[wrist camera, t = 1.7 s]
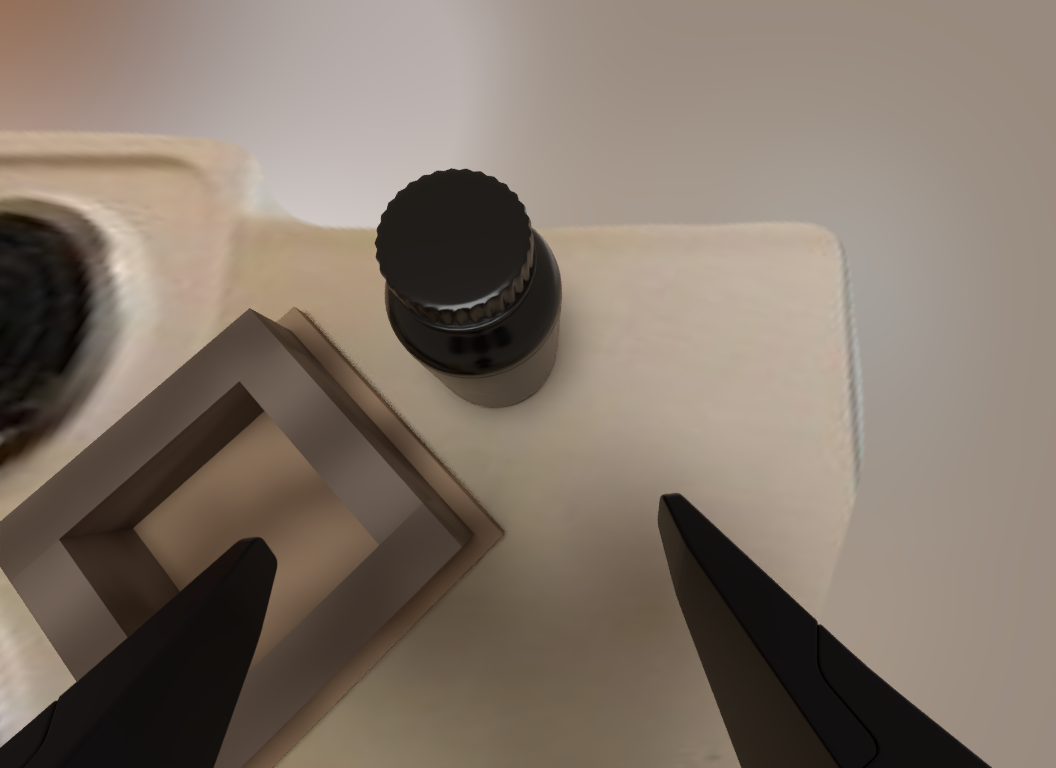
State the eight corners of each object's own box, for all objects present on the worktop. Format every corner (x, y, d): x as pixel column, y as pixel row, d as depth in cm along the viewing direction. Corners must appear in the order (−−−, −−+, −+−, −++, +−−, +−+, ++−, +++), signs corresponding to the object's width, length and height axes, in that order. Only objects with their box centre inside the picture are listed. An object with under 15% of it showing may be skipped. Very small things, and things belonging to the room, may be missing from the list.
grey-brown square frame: (504, 531, 23) (495, 547, 18) (249, 789, 21) (170, 876, 16) (303, 312, 25) (253, 280, 21) (61, 524, 23) (-50, 537, 19)
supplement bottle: (581, 347, 24) (618, 237, 13) (495, 434, 24) (448, 402, 12) (496, 268, 25) (457, 99, 14) (411, 349, 25) (292, 242, 13)
